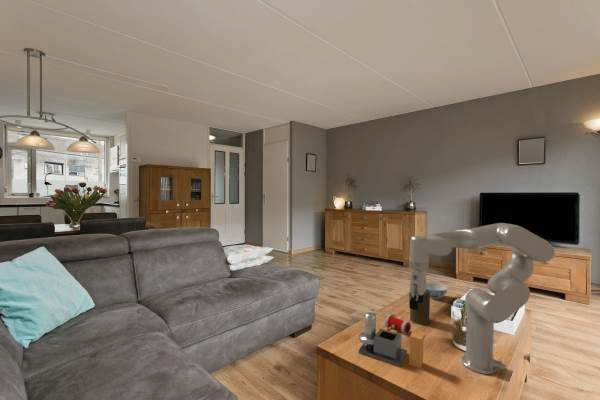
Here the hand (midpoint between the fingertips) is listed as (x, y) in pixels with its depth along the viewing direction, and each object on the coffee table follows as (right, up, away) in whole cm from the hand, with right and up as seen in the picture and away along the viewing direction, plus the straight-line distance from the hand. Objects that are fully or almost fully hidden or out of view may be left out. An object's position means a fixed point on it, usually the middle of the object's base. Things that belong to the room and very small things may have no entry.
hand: (416, 305), depth 121 cm
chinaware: (+44, -23, +77) cm, 92 cm away
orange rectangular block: (-1, -24, -1) cm, 24 cm away
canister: (+18, -24, +41) cm, 50 cm away
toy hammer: (-2, -24, +26) cm, 35 cm away
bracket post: (-14, -24, +8) cm, 28 cm away
